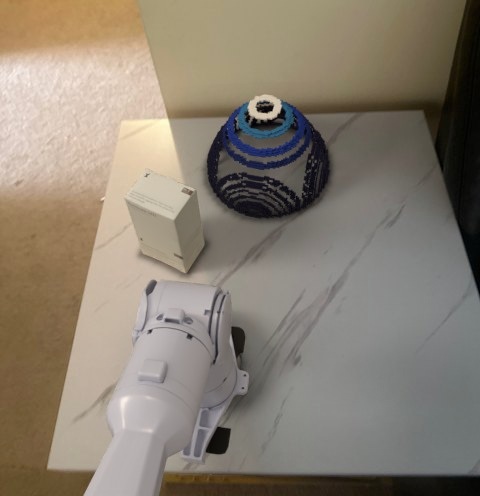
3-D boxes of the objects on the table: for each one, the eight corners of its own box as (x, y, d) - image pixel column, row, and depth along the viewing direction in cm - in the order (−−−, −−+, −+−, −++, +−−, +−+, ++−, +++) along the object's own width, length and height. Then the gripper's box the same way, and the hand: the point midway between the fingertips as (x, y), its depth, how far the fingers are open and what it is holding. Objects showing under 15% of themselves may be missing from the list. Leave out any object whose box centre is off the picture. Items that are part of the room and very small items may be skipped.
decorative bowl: (317, 228, 86) (321, 171, 74) (193, 205, 90) (179, 148, 79) (338, 132, 97) (344, 69, 86) (227, 116, 101) (219, 54, 90)
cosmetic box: (142, 254, 85) (118, 198, 74) (163, 223, 88) (143, 165, 77) (189, 275, 83) (172, 221, 71) (209, 243, 86) (196, 186, 74)
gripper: (231, 455, 46) (242, 484, 56) (256, 292, 54) (262, 344, 65) (147, 442, 47) (174, 472, 57) (185, 283, 55) (202, 336, 66)
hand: (217, 403), depth 61 cm, fingers open, 7 cm apart
